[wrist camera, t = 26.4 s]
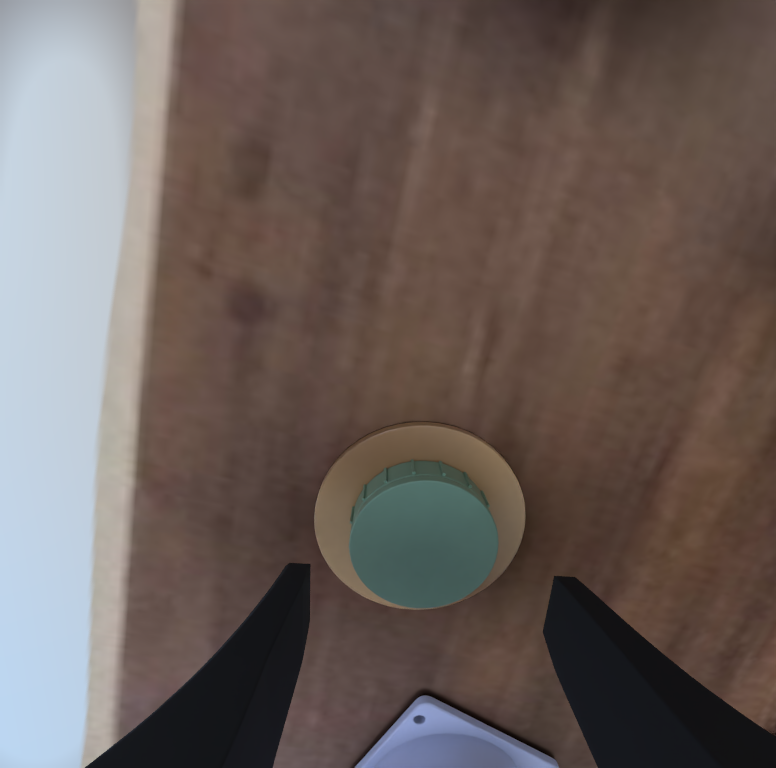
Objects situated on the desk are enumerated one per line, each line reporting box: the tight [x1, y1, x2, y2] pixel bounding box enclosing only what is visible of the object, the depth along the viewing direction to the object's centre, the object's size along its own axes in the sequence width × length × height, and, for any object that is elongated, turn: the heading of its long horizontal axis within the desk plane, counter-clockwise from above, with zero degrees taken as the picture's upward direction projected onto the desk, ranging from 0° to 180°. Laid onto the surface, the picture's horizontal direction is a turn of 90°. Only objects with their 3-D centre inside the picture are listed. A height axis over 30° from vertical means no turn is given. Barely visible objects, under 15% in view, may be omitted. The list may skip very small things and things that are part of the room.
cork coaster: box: [314, 422, 526, 610], centre depth 15 cm, size 8×8×1 cm
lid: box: [349, 459, 499, 608], centre depth 14 cm, size 5×5×2 cm
